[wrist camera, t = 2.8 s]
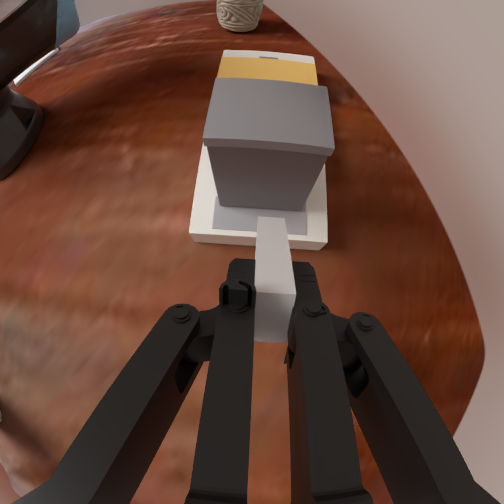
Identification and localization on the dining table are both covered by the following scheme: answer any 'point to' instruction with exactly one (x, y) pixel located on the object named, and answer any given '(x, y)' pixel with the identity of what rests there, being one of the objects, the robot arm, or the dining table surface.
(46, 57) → the external hard drive
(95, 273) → the dining table surface
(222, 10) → the carving
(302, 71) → the switch panel
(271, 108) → the switch tab
